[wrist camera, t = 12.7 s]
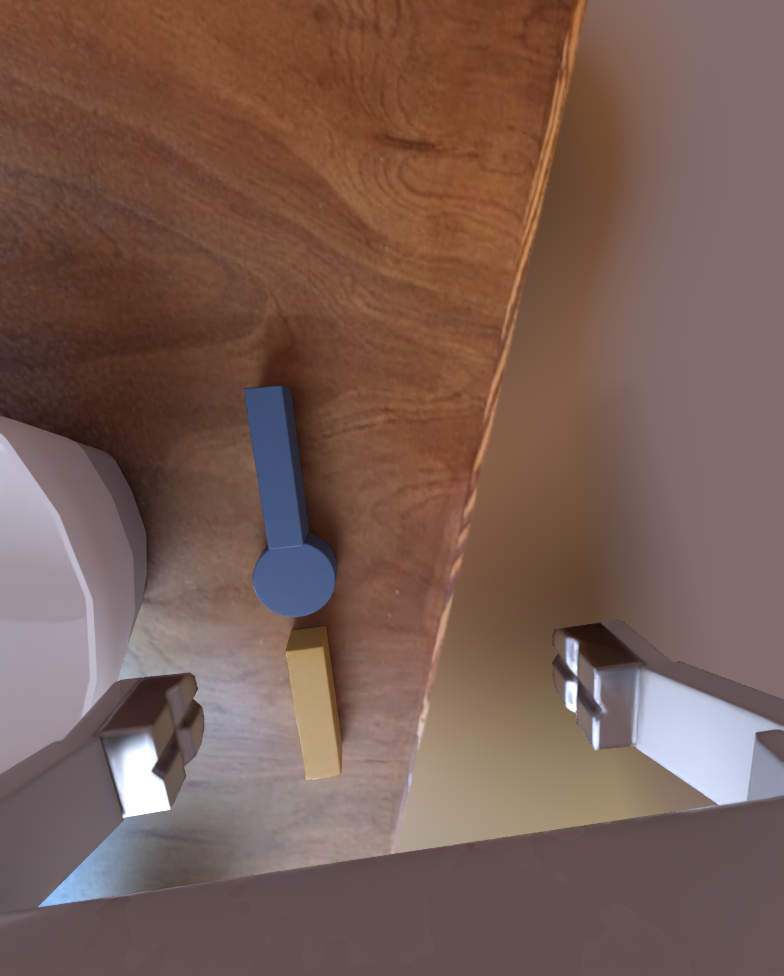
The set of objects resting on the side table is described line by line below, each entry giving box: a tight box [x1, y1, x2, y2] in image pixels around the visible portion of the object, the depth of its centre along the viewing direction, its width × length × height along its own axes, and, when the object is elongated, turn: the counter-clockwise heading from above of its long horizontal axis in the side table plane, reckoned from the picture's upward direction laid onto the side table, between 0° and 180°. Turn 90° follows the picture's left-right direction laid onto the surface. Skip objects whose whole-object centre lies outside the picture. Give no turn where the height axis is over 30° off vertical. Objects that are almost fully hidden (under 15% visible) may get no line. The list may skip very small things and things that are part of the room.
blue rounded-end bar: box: [244, 385, 337, 617], centre depth 24 cm, size 14×5×3 cm, turn 5°
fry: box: [285, 626, 342, 780], centre depth 27 cm, size 10×2×2 cm, turn 5°
